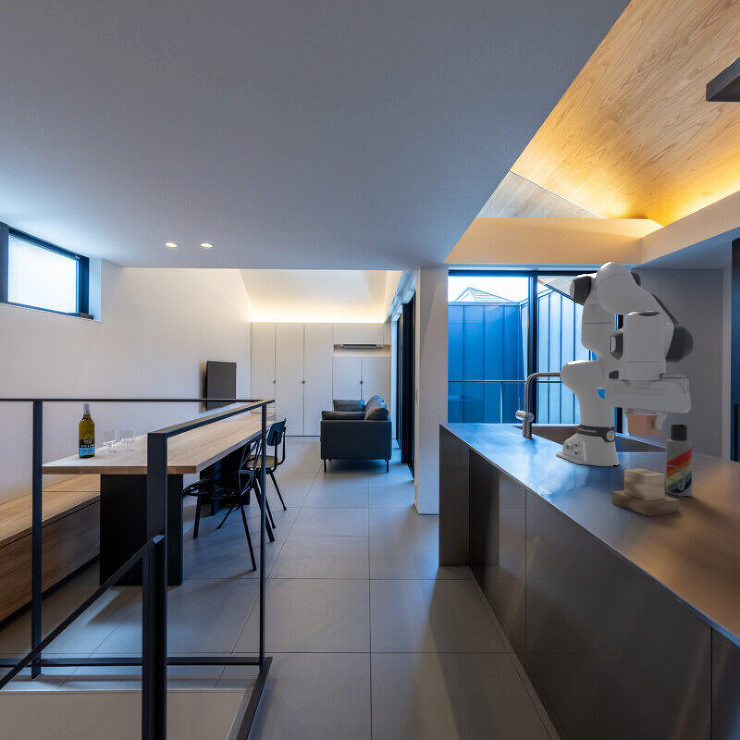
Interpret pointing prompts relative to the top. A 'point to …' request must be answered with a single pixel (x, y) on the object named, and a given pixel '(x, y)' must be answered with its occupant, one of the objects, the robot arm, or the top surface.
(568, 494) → the top surface
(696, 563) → the top surface
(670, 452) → the lotion bottle
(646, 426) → the terracotta block
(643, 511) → the walnut base
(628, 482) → the oak cube
